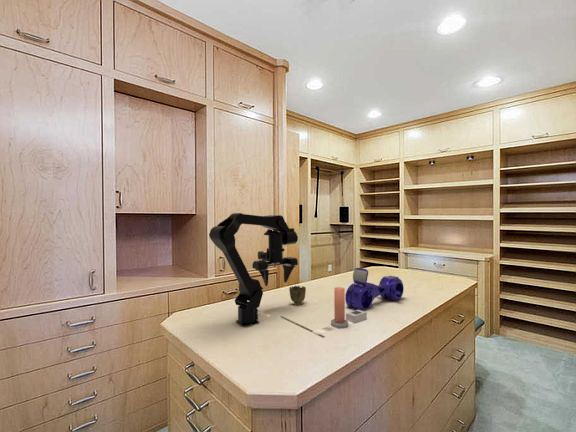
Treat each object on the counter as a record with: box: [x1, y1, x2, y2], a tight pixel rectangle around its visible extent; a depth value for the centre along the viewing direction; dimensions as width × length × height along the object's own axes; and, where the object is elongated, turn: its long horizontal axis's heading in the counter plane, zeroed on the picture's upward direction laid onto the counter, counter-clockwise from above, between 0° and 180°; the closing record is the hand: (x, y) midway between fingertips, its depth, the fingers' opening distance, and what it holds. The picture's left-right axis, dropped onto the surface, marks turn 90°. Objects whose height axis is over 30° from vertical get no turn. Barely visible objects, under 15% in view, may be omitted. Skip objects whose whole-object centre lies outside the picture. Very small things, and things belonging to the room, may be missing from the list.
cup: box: [288, 285, 307, 306], centre depth 128 cm, size 8×7×8 cm
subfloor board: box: [280, 315, 354, 339], centre depth 110 cm, size 26×24×1 cm
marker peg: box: [330, 286, 349, 329], centre depth 103 cm, size 6×6×13 cm
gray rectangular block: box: [345, 309, 368, 324], centre depth 108 cm, size 7×4×3 cm, turn 127°
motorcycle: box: [345, 267, 404, 311], centre depth 130 cm, size 35×14×18 cm, turn 129°
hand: (276, 284), depth 118 cm, fingers open, 9 cm apart
